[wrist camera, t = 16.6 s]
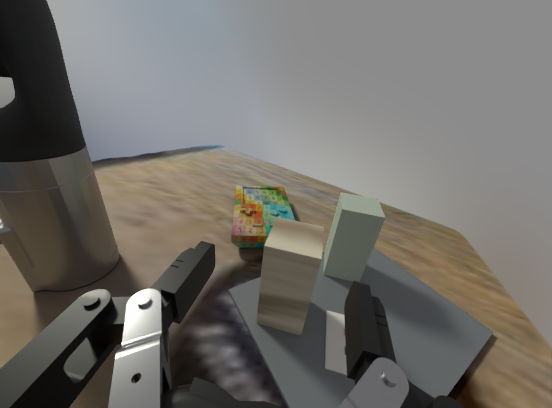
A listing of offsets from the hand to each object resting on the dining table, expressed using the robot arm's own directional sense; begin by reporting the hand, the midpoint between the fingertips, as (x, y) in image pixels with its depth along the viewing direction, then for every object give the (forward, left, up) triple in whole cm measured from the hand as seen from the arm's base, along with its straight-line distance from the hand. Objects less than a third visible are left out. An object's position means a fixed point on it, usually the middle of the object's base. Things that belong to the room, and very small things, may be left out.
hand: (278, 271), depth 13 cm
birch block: (+7, +7, -16) cm, 19 cm away
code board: (+16, +2, -17) cm, 24 cm away
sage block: (+20, +9, -16) cm, 27 cm away
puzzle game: (+15, +27, -18) cm, 36 cm away
